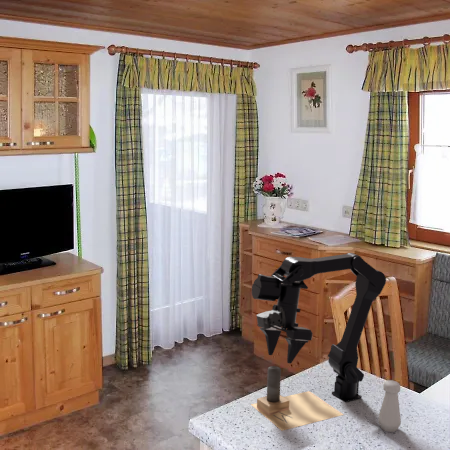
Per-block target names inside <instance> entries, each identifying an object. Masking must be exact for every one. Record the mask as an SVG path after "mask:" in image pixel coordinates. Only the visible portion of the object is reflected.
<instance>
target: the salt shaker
mask: <svg viewBox="0 0 450 450" xmlns="http://www.w3.org/2000/svg"><path fill="white" fill-rule="evenodd" d="M382 386H383V391H384V396H383V400H382V404H381V407H380V410H379V413H378V424H379V426H380V429H381V430H383V431H384V432H387V433H395V432H397V431H398V430H399V428H400V426H401V424H402V418H401V411H400V410H401V409H400V401H399V394H398V393H400V392H401V384H400V383H399V382H398V381H396V380H393V379H389V380H386V381H384V382H383V385H382Z"/></svg>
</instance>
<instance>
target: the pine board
mask: <svg viewBox="0 0 450 450" xmlns="http://www.w3.org/2000/svg"><path fill="white" fill-rule="evenodd" d="M283 397H284V398H286V399H288V400H289V409H287V410H284V411H281V412H278V413H275V414H272V415H268V414H266V413H265V412H263V411H262V410H260V409H259V408H257V402H256V403H251V404H250V405H251V406H252V407H253V408H254V409H256V411H258V412H259V413H260V414H261V415H262V416H263V417H265V418H266V419H267V420H268V421H270V423H272V424H273V425H274V426H275V427H277V428H278V430H280V431H281V432H283V431H286V430H287V431H288V430H291V429H294V428H298V427H302V426H307V425H311V424H314V423H317V422H321V421H325V420H330V419H333V418H336V417H340V416H344V415H345V414H343V413H342V412H341V411H340V410H338V409H336V407H333V406H332V405H330V404H329V403H327V402H326V401H325V400H323V399H321V398H320V397H319V396H318V395H316V394H315V393H313V392H312V391H304V392H299V393H295V394H291V395H286V396H283Z"/></svg>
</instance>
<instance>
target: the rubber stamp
mask: <svg viewBox="0 0 450 450" xmlns="http://www.w3.org/2000/svg"><path fill="white" fill-rule="evenodd" d="M281 374H282V369H281V367H279V366H275V365H273V366H269V367H267V379H266V380H267V382H266V383H267V384H266V396H262V397H258V398H256V403H257V408H259V409H260V410H262V411H263V412H265V413H266V414H268V415H272V414H275V413H278V412H281V411H284V410H287V409H289V400H288V399H286V398H284V397H285V396H283V395H281V380H282V378H281Z"/></svg>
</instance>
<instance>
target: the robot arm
mask: <svg viewBox="0 0 450 450" xmlns="http://www.w3.org/2000/svg"><path fill="white" fill-rule="evenodd" d="M345 270H349V271H351V273H352V274H353V275H354V276H356V277H355V284H354V285H355V299H354V302H353V303H352V308H351V311H350V313H349V317H348V319H347V322H346V324H345V328H344V331H343V333H342V337H341V340H340V341H339V342H338V343H337V344H334V343H333V344H331V346H330V350H329V353H328V354H327V358H328V363H329V366H330V367H331V369H332V370H333V372H334V373H335V374H336V375H335V381H334V390H333V391H331V395H332V396H334V397H336V398H337V399H339V400H341V401H342V402H344V403H347V402H353V401H356V400H360V399H362V397H363V396H362V395H360V394H359V390H360V389H359V385H360V384H359V383H360V382H363V380H364V377H365V374H364V372H362V370H361V369H359V368H358V363H359V362H358V361H359V350H358V346H359V342H360V339H361V336H362V334H363V330H364V328H365V325H366V322H367V319H368V316H369V314H370V310H371V307H372V304H373V303H374V300H376V298H378V297H379V296H380V295H381V294H382V292H383V290H384V288H385V285H386V283H387V278H386V275H385V274H384V272H383V271H381V270H377V269H375V268H374V267H373V266H372V265H370V264H369V263H368V262H366V261H365V260H364V259H363V258H362V257H361V255H359V254H355V253H353V252H348V253H345V254H339V255H338V254H337V255H329V256H323V257H321V256H320V257H315V258H309V257H308V258H307V257H301V256H288V257H286V258H284V259H283V261H282V262H281V265H280V266H279V267H278V268H277V269H276V270H275V271H274V272H273V273H271V275H264V274H261V273H258V275H257V278H255V279H254V282H253V283H252V285H251V296H252V298H253V299H254V300H260V301H267V302H268V301H269V302H275V301H276V300H277V302H276V303H274V304H273V306H272V309H271V310H265V311H263V312H261V313H260V312H259V313H258V314H256V315H255V317H256V321H257V325H256V326H257V327H259V330H260V331H261V332H262V333H263V335H264V337H265V342H266V347H267V353H268V355H269V356H273V355H274V351H275V349H276V347H277V344H278V342H279V339H280V336H281V333H282V332H284V333H285V334H286V337H284V339H285V341H286V342H287V356H286V357H287V358H286V363H287V364H292V363H293V362H294V360H295V358H296V357H297V355H298V354H299V352H300V351H301V350H302V348H303V347H304V346H305V345H306V343H307V344H308V343H309V341H312V340H313V334H314V333H313V332H312V330H311V329H309V328H306V327H303V326H299V323H297V322H296V321H297V316H298V315H297V314H298V313H301V308H299V300H300V295H301V294H300V292H301V289H303V290H307V289H309V287H308V285H307V284H306V283H305V280H309V279H311V278H312V277H314V276H315V275H319V274H324V273H332V272H339V271H345Z"/></svg>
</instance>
